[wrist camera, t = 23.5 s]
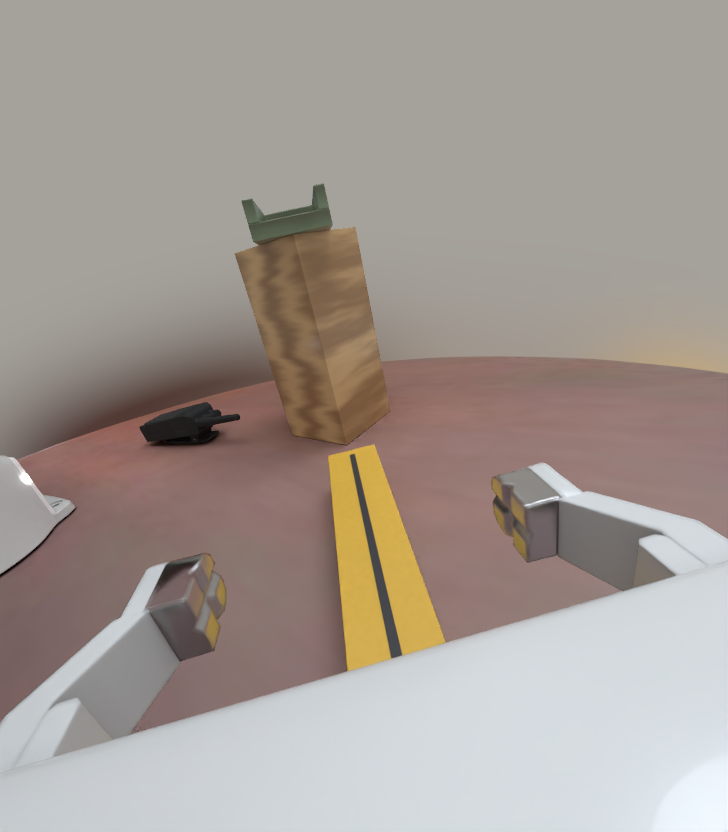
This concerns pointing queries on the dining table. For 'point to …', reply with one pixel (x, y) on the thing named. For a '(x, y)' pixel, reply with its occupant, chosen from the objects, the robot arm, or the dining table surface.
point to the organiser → (315, 320)
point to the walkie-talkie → (186, 425)
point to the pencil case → (376, 566)
